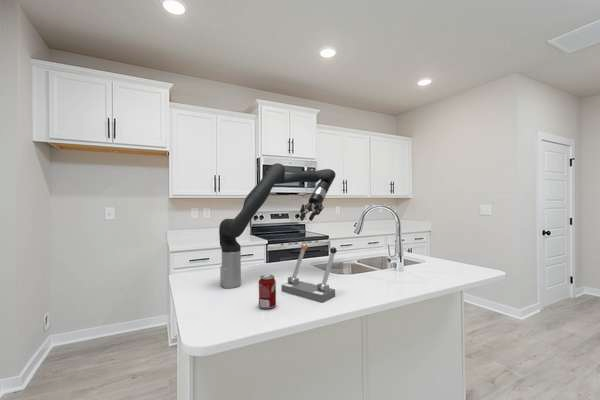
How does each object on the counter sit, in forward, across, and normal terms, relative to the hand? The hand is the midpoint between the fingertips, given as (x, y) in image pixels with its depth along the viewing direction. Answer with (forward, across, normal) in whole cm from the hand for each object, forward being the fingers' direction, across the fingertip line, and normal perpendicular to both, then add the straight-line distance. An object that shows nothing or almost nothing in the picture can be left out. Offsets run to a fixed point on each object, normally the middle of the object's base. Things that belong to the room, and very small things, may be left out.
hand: (305, 219), depth 151 cm
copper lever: (+34, -6, -6) cm, 35 cm away
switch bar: (+36, -15, -9) cm, 40 cm away
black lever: (+34, -23, -6) cm, 42 cm away
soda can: (+51, -11, +7) cm, 53 cm away
